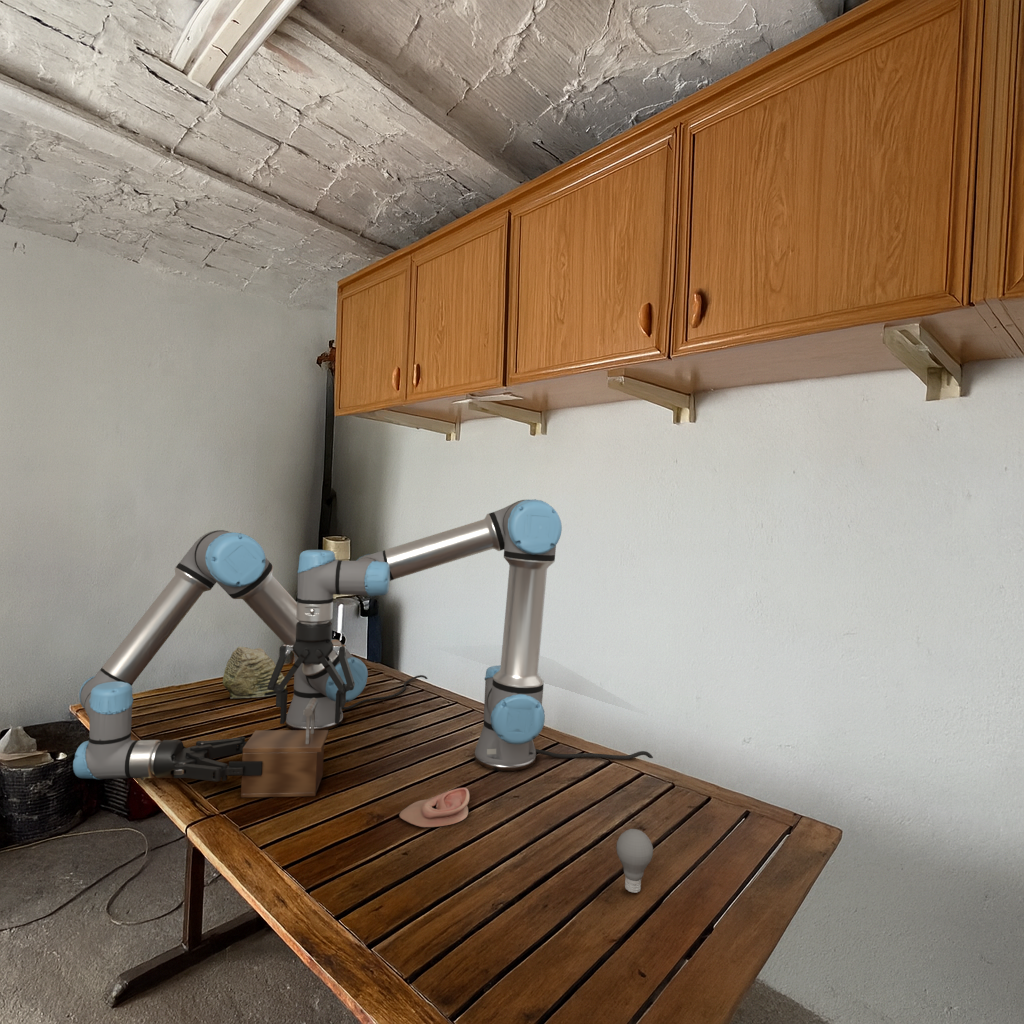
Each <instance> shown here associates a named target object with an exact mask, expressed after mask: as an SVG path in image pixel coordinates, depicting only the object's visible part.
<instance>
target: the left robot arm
mask: <svg viewBox="0 0 1024 1024" xmlns="http://www.w3.org/2000/svg"><path fill="white" fill-rule="evenodd" d="M273 571H274V565H273V564H272V563H271V562H270V561H269V559H268V558H267V556H266V553H265V551H264V548H263V547H262V545H261V544H260V543H259V542H258V541H257V540H256V539H254V538H253V537H251V536H250V535H247V534H245V533H241V532H233V531H230V530H229V531H228V530H223V529H217V530H212V531H208V532H207V533H205V534H203V535H202V536H200V537H199V538H198V539H197V540H196V541H194V543H193V544H192V545H191V546H190V548H189V549H188V550H187V552H186V553H185V554H184V556H183V557H182V558H181V560H180V561H179V562H178V564H177V565H176V566H175V567H174V576H173V577H171V579H170V581H169V582H168V583H167V584H166V585H165V587H164V589H163V590H162V591H161V592H160V593H159V594H158V596H157V597H156V598H155V600H154V601H153V603H151V605H150V606H149V607H148V609H147V610H146V611H145V612H144V613H143V614H142V616H141V617H140V619H139V620H138V621H137V622H136V623H135V625H134V626H133V628H132V629H131V630H130V631H129V633H128V634H127V635H126V636H125V637H124V639H123V640H122V641H121V643H120V644H119V645H118V647H116V649H115V651H113V653H112V654H111V656H110V657H109V658H108V659H107V660H106V661H105V663H104V664H103V666H102V667H101V668H100V669H99V670H98V671H97V672H96V673H95V675H93V676H91V677H89V678H88V679H86V680H85V681H84V682H83V683H82V684H81V685H80V688H79V691H78V699H79V703H80V705H81V706H82V708H83V709H84V710H85V713H86V715H87V717H88V719H89V720H88V721H89V724H88V725H89V726H88V727H89V729H88V732H89V733H88V734H89V736H88V740H86V741H83V742H82V743H81V744H80V745H79V746H78V747H77V749H76V751H75V753H74V759H73V761H72V769H73V773H74V775H75V776H76V777H77V778H79V779H86V780H87V779H89V780H97V781H100V780H113V779H115V780H117V779H141V780H142V781H145V780H147V779H154V778H155V777H156V778H157V779H172V778H173V779H192V780H199V781H200V780H201V781H208V782H216V783H217V782H218V783H219V782H226V781H227V780H228V777H242V776H256V775H262V761H242V760H238V761H237V760H235V761H231V760H230V761H229V762H228V763H226V762H222V761H217V760H215V759H218V758H223V757H228V756H233V755H237V754H243V747H244V746H245V744H246V743H247V742H248V740H247V741H246V737H245V736H241V737H233V738H231V737H230V738H221V739H212V740H197V741H196V742H195V745H192V746H189V747H186V746H184V743H183V741H182V740H180V739H164V740H160V739H139V740H138V739H135V740H133V739H132V721H133V720H132V718H133V717H132V716H133V703H134V697H133V684H134V683H135V682H136V680H137V679H138V678H139V676H140V675H141V674H142V673H143V671H144V670H145V669H146V667H147V666H148V665H149V664H150V662H151V661H152V660H153V658H154V657H155V656H156V654H157V653H158V652H159V651H160V649H161V648H162V647H163V645H164V643H166V641H167V640H168V639H169V638H170V636H172V634H173V632H174V631H175V630H176V628H177V627H178V626H179V624H180V623H181V622H182V621H183V619H185V617H186V615H187V614H188V613H189V612H190V611H191V609H192V608H193V607H194V605H195V604H196V602H198V600H199V598H200V597H201V596H202V595H203V594H204V593H205V592H208V591H211V590H212V589H213V588H214V586H215V585H216V584H218V585H219V586H220V588H221V589H222V590H224V592H225V593H226V594H227V595H228V596H229V597H230V598H231V599H233V600H242V601H243V602H244V603H245V604H246V605H247V606H248V607H249V608H250V609H251V610H252V611H253V612H254V613H255V614H256V616H258V618H260V620H262V622H263V623H264V624H265V625H266V626H267V627H268V628H269V629H270V630H271V631H272V632H273V633H274V634H275V636H276V637H277V638H278V639H279V640H280V641H281V642H282V643H283V644H287V645H294V644H295V641H296V624H297V622H299V621H298V620H297V619H296V615H297V600H295V598H294V597H293V596H292V595H291V594H290V593H289V592H288V591H287V589H285V587H283V585H282V584H281V583H280V582H279V581H278V579H276V577H275V576H274V575H273V573H274V572H273ZM332 643H333V645H342V644H343V643H342V642H341V641H340V640H339V639H336V638H332ZM291 653H292V654H293V656H294V663H295V662H296V661H297V659H298V657H297V655H296V654H295V652H294V651H293V650H292V651H291ZM346 657H347V660H348V663H349V666H350V670H351V673H352V676H353V679H354V682H355V686H354V689H353V690H349V691H347V692H346V703H350V702H352V701H354V700H355V699H357V697H359V696H360V695H361V693H363V691H364V689H365V687H366V685H367V682H368V677H369V671H368V668H367V665H366V664H365V662H363V661H362V659H360V658H359V657H355V656H354V655H353V654H351V652H350V651H349V650H348V649H347V648H346ZM329 658H330V659H331V662H332V664H333V665H334V667H335V669H336V670H337V672H338V673H339V675H340V677H341V678H342V680H343V682H344V683H345V684H347V683H346V680H345V677H344V673H343V670H342V667H341V664H340V660H339V656H337V655H336V653H335V651H332V652H331V653H330V655H329ZM419 678H423V679H425V680H428V677H427V676H426V675H423V674H418V675H415V676H414V677H411V678H409V679H407V680H406V681H404V683H403V688H402V689H401V690H399V691H398V692H396V693H393V694H390V695H386V696H378V697H377V696H376V697H370V698H365V699H362V700H359V701H357V702H355V703H353V704H351V705H348V706H344V707H340V721H339V723H338V724H335V707H336V693H337V691H338V688H337V686H336V685H335V683H334V682H333V680H332V678H331V677H330V675H329V674H328V672H327V670H326V669H325V668H324V667H323V665H322V664H319V665H315V664H309V665H305V664H304V663H301V665H300V666H299V668H298V669H297V670H296V672H295V673H294V675H293V695H292V696H293V697H292V699H291V702H290V704H289V708H288V709H287V718H286V721H285V726H286V728H287V729H288V730H306V718H307V716H305V714H304V710H305V708H306V707H307V705H308V703H309V701H310V700H311V699H312V698H316V699H317V700H318V704H317V706H316V708H315V724H314V730H328V731H329V730H332V729H335V728H337V727H339V726H340V725H342V723H343V722H344V714H343V710H349V709H352V708H354V707H357V706H358V705H360V704H364V703H366V702H371V701H379V700H385V699H390V698H394V697H396V696H398V695H401V694H402V693H403V692H404V691H406V689H407V684H408V683H410V682H412V681H414V680H415V679H419ZM310 730H311V716H310Z"/></svg>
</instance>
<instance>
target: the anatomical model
mask: <svg viewBox="0 0 1024 1024" xmlns="http://www.w3.org/2000/svg"><path fill="white" fill-rule="evenodd" d="M470 797H471V796H470V791H469V789H468V788H467V787H458V788H453V789H451V790H447V791H445V792H442V793H440V794H437V795H436V796H433V797H430V798H428V799H421V800H417V801H415V802H413V803H411V804H409V805H407V807H405V808H404V809H402V810H401V811H400V812H399V814H398V816H399V818H400V819H402V820H403V821H404V822H407V823H408V824H410V825H414V826H416V827H420V828H437V827H446V826H450V825H454V824H457V823H460V822H462V821H463V820H465V819H466V818H467V817H468V816H469V807H468V805H469V802H470Z"/></svg>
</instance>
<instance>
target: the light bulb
mask: <svg viewBox="0 0 1024 1024" xmlns="http://www.w3.org/2000/svg"><path fill="white" fill-rule="evenodd" d="M615 849H616V854H617V857H618V859H619V861H620V863H621V865H622V867H623V873H624V874H623V875H624V876H625V878H624V888H625V890H627V891H628V892H630V893H634V894H635V893H639V892H640V891H641V889H642V887H641V886H642V879H643V877H644V875H645V871H646V868H647V867H648V866H649V864H650V863H651V861H652V859H653V855H654V847H653V843H652V841H651V838H649V836H648V835H647V834H646V833H645V832H643V831H642V830H641V829H636V828H629V829H627V830H625V831H623V832H622V833H621V834H620V835H619V837H618V839H617V841H616V847H615Z"/></svg>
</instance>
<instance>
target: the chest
mask: <svg viewBox="0 0 1024 1024" xmlns="http://www.w3.org/2000/svg"><path fill="white" fill-rule="evenodd" d="M324 752H325V745H324V746H323V748H322V751H321V752H273V753H242V758H241V759H242V760H241V761H262V775H256V776H241V783H240V784H241V785H240V799H241V798H286V797H287V798H289V797H294V798H295V797H316V795H317V792H318V790H319V787H320V784H321V781H322V779H323V776H324V758H325V757H324V755H325V754H324Z"/></svg>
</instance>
